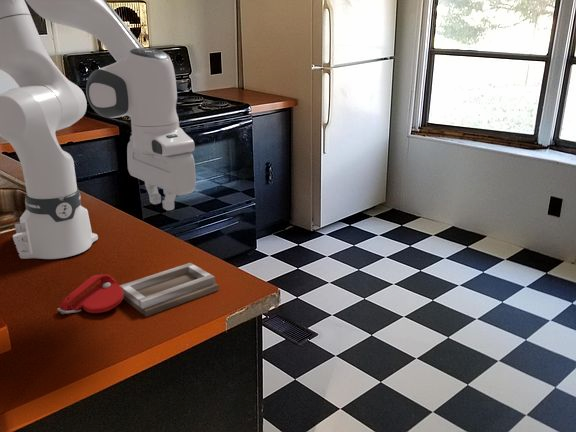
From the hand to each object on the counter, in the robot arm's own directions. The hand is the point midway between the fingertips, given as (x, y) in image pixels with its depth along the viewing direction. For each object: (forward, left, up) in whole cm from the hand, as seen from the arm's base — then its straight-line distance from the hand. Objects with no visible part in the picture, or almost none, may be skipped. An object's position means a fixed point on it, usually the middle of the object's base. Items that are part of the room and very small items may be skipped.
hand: (162, 206), depth 119 cm
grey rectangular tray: (0, 0, -19) cm, 19 cm away
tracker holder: (-1, -18, -17) cm, 25 cm away
